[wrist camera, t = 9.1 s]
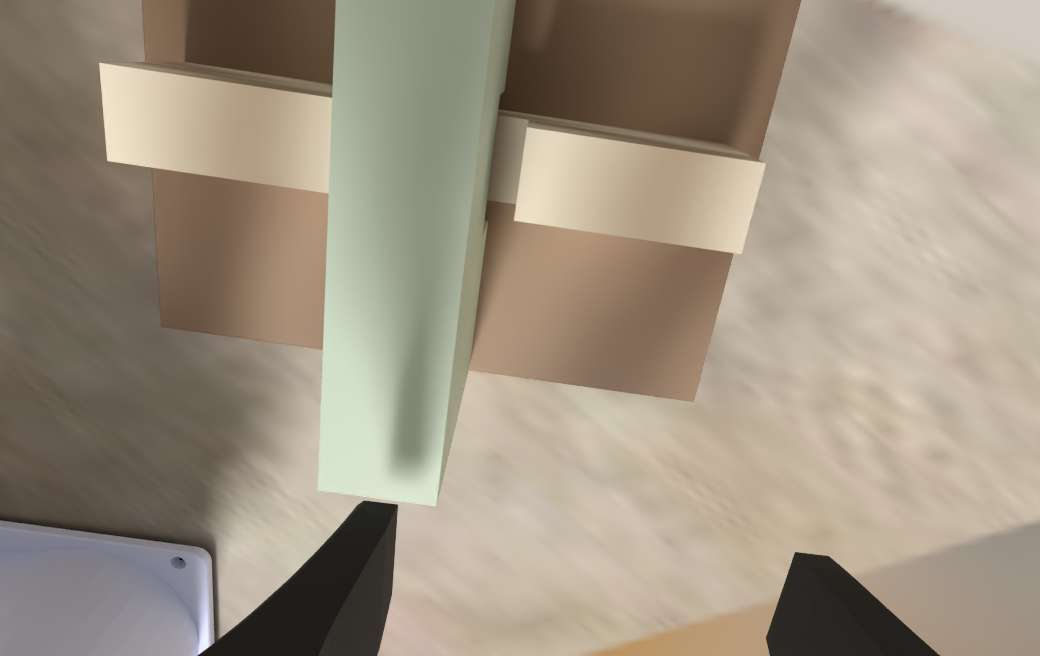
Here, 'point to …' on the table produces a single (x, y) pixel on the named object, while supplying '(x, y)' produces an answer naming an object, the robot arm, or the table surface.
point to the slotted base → (522, 261)
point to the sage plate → (405, 235)
